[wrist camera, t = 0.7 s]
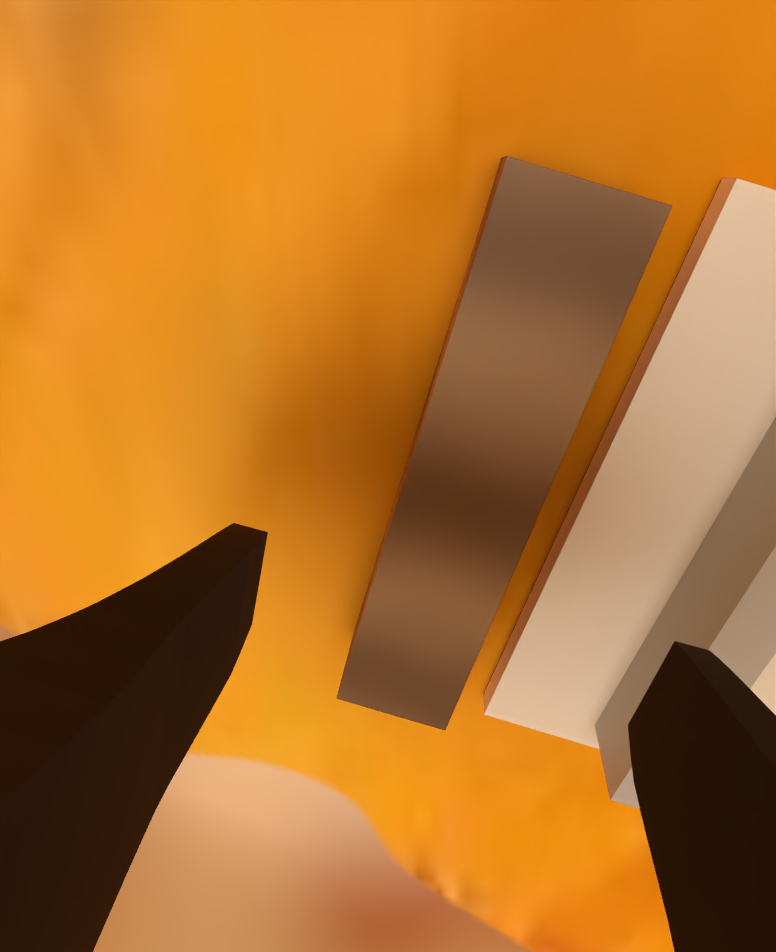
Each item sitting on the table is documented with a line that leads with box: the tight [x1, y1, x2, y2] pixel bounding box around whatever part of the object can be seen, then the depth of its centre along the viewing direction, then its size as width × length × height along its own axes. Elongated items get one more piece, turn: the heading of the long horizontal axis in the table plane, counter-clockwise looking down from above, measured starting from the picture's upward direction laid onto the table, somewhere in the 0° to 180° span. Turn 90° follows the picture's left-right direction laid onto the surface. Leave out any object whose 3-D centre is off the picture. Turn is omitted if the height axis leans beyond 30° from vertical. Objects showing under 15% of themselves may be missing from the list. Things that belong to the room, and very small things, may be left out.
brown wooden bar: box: [337, 156, 672, 730], centre depth 19 cm, size 16×4×4 cm, turn 165°
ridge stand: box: [484, 178, 776, 809], centre depth 18 cm, size 9×18×4 cm, turn 165°
